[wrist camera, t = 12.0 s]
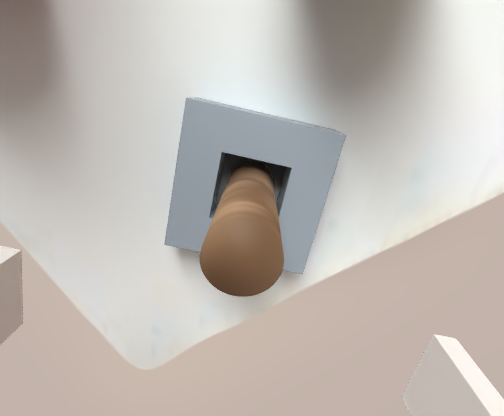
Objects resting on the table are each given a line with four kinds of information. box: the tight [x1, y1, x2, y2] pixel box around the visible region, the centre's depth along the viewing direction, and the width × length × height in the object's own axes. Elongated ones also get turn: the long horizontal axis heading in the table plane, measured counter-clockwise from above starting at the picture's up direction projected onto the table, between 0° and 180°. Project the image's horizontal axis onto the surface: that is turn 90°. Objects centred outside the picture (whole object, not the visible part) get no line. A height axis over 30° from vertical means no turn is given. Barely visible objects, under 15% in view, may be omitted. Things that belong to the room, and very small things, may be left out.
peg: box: [200, 160, 284, 296], centre depth 23 cm, size 4×4×15 cm
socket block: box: [164, 98, 346, 274], centre depth 28 cm, size 12×12×4 cm
